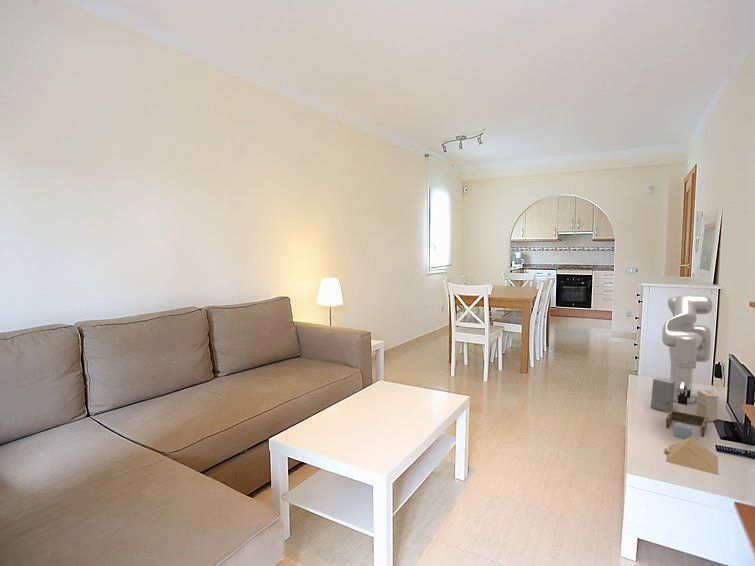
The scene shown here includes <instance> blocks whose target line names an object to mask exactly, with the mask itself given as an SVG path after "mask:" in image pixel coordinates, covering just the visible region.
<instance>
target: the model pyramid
mask: <svg viewBox="0 0 755 566" xmlns="http://www.w3.org/2000/svg"><path fill="white" fill-rule="evenodd" d="M664 455H666V458H665V462H666V463H670V464H674V465H678V466H681V467H685V468H689V469H692V470H696V471H701V472H705V473H708V474H709V473H710V474H712V475H716V476H719V456H718V455H717V454H715V453H714V452H713V451H711V450H710V449H709V448H707V447H706V446H705V445H704V444H703V443H702V442H700V440H698V439H696V437H694V436H693V435H692V437H690V438H687V439H682V440H680V441H676V442H674V443H671V444H669V445H668V448H667V447H664Z"/></svg>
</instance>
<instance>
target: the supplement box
mask: <svg viewBox="0 0 755 566" xmlns="http://www.w3.org/2000/svg"><path fill="white" fill-rule="evenodd" d="M696 397H697V398H696V399H697V401H696V415H697V416H702V417H706V418H707V423H714V422H713V421H714V420H717V421H718V402H719V401H718V399H719V396H718V395H716V394H715V393H713V392H711V391H709V390H706V389H705V390H704V389H700V390H699V389H698V390H697V395H696Z"/></svg>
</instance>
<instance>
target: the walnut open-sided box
mask: <svg viewBox="0 0 755 566" xmlns="http://www.w3.org/2000/svg"><path fill="white" fill-rule="evenodd" d="M673 421H674V422H678V423H682V424H687V425H691V426H692V425H693V426H698V427H701V426H702V427H701V428H700V429H701V431H700V432H701V433H700V435H701V437H703V438H704V437H705V435H706V431H707V428H708V422H707V418H706V417H702V416H697V414H693V413H692V414H691V413H687V412H681V411H676V410H674V409H673V410H671V411H670V412H668V414H667V417H666V419H665V428H666V429H667V430H668V429H670V426H671V424H672V422H673Z"/></svg>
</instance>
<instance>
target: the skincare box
mask: <svg viewBox="0 0 755 566" xmlns="http://www.w3.org/2000/svg"><path fill="white" fill-rule="evenodd" d="M674 388H675V381H673V380H670V378H669V379H668V378H664V377H661V376H660V377H659V376H657V377H655V378H653V379H652V390H651V391H652V392H651V401H650V408H651V409H654V410H658V411H662V412H666V413H669V412H670V411H671V410H673V411H674V401H673V400H674Z"/></svg>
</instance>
